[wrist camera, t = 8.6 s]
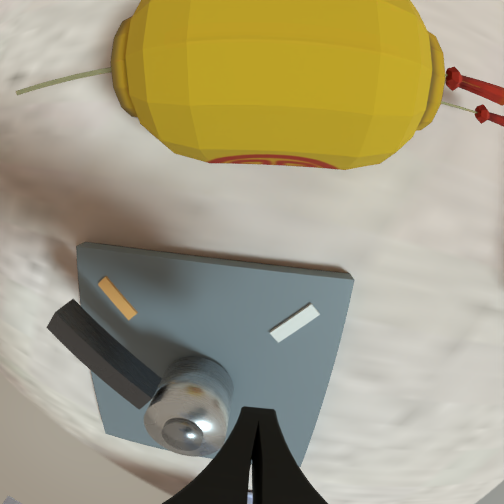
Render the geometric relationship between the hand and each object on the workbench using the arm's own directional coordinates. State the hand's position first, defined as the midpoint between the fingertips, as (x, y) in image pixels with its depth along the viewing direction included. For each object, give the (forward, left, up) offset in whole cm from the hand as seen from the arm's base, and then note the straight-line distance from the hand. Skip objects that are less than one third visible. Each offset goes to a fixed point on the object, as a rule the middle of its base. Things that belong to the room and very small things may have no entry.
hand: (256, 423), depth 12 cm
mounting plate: (-5, +4, -9) cm, 11 cm away
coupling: (-3, +7, -8) cm, 11 cm away
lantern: (+15, +1, -10) cm, 18 cm away
